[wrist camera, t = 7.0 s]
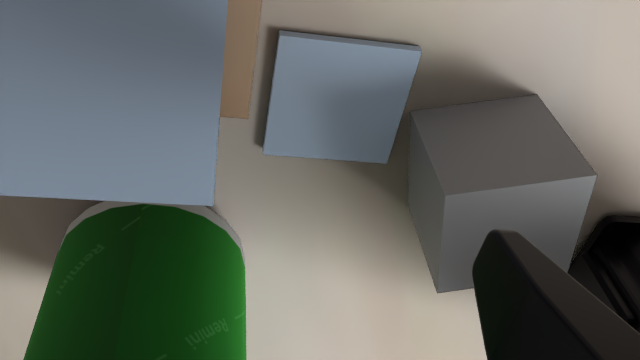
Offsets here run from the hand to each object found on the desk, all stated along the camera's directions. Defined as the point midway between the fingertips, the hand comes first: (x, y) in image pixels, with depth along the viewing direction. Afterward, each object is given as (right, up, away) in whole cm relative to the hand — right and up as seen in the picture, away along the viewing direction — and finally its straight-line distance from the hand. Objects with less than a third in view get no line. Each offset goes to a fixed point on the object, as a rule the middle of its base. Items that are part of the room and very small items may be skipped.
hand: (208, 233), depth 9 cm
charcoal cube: (+8, +2, +15) cm, 17 cm away
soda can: (-5, -2, +17) cm, 18 cm away
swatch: (+2, +4, +13) cm, 13 cm away
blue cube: (-3, +6, +5) cm, 8 cm away
